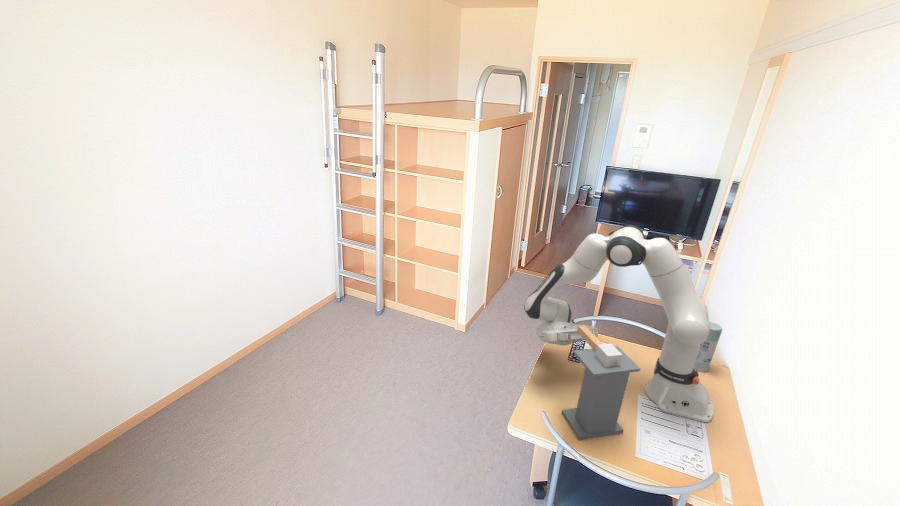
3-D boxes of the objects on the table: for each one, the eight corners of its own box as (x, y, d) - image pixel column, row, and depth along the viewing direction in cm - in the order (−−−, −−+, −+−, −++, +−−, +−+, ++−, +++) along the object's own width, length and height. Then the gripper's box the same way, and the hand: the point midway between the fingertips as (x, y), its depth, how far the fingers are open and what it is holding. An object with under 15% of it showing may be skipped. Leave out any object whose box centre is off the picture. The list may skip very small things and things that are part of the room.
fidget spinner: (698, 454, 130) (698, 452, 130) (712, 471, 124) (713, 469, 124) (677, 455, 129) (678, 453, 129) (691, 473, 123) (692, 471, 123)
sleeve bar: (573, 332, 144) (575, 322, 142) (586, 330, 145) (588, 321, 143) (605, 367, 126) (608, 356, 125) (619, 365, 127) (622, 354, 126)
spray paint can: (711, 371, 170) (726, 329, 162) (698, 373, 168) (713, 331, 161) (699, 361, 175) (713, 321, 168) (686, 363, 174) (700, 322, 166)
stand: (561, 413, 143) (573, 350, 133) (602, 407, 147) (617, 346, 137) (579, 440, 132) (593, 374, 123) (622, 433, 136) (640, 368, 126)
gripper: (535, 327, 155) (552, 328, 142) (584, 323, 160) (605, 323, 147) (537, 344, 155) (554, 347, 141) (586, 339, 159) (607, 341, 146)
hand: (580, 335), depth 144 cm, fingers open, 8 cm apart
